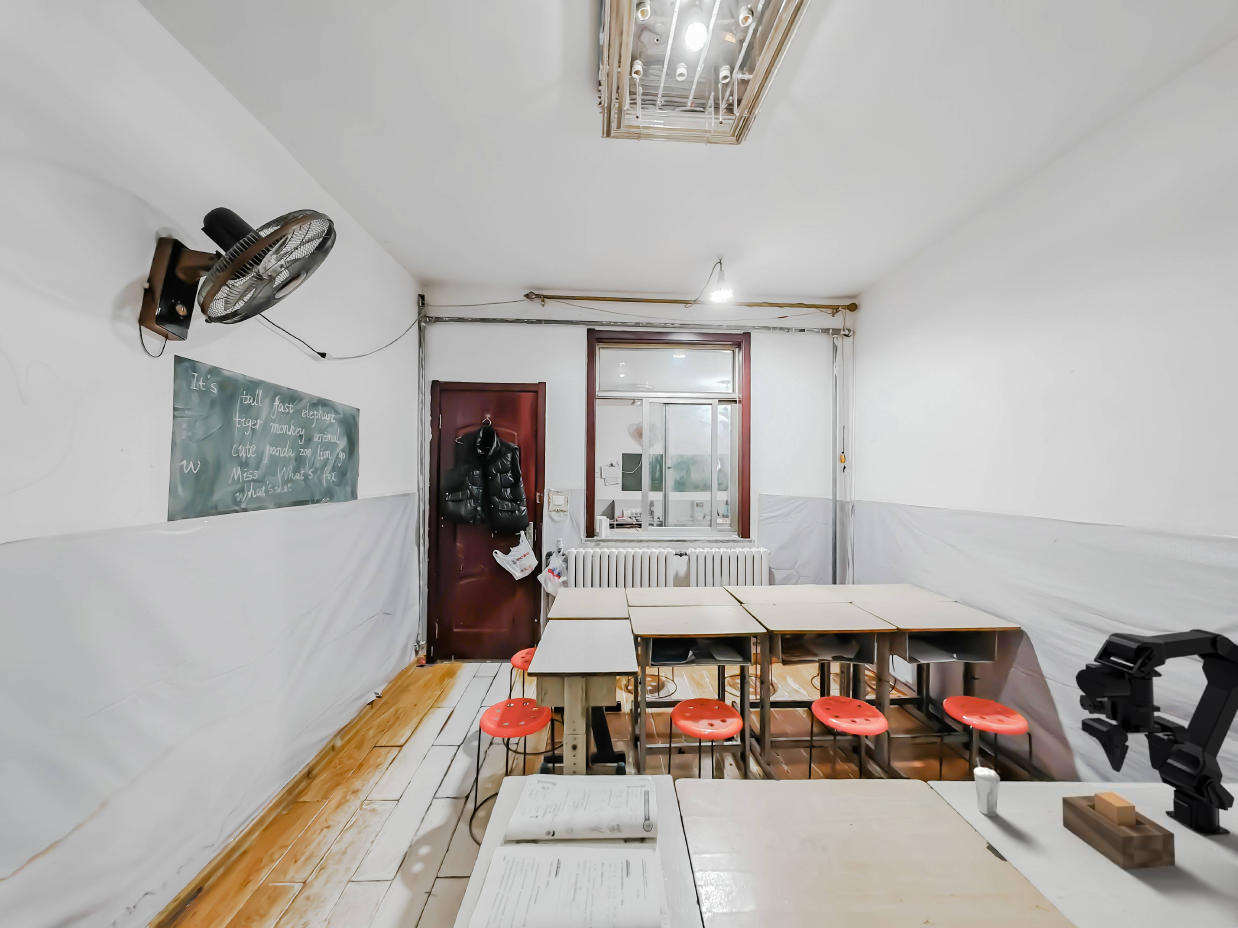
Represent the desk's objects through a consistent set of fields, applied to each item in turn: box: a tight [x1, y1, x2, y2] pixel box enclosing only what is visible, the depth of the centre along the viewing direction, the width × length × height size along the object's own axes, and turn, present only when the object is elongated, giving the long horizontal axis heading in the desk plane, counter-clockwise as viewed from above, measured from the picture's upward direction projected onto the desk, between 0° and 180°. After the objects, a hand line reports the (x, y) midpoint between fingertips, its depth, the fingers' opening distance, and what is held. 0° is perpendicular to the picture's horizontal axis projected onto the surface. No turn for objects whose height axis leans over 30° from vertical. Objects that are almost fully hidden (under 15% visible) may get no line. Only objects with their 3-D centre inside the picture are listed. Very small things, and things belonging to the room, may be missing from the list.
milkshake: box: [973, 757, 1001, 817], centre depth 104 cm, size 5×5×10 cm
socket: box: [1061, 795, 1176, 870], centre depth 94 cm, size 11×11×6 cm
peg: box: [1094, 791, 1136, 826], centre depth 94 cm, size 4×4×8 cm
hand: (1135, 769), depth 99 cm, fingers open, 9 cm apart
